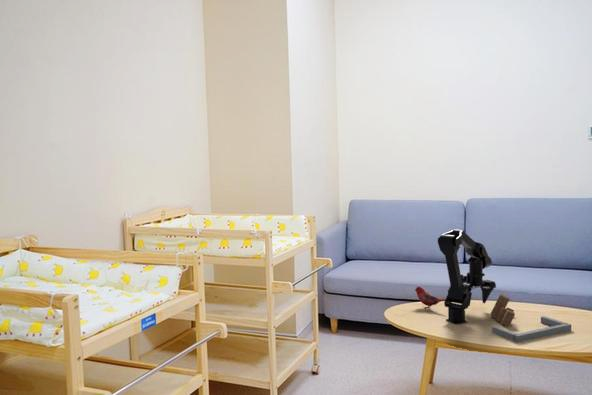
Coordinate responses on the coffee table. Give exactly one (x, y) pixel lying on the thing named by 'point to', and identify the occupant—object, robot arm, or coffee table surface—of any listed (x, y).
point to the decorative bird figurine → (427, 297)
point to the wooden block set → (503, 311)
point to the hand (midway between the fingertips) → (476, 304)
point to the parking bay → (554, 329)
